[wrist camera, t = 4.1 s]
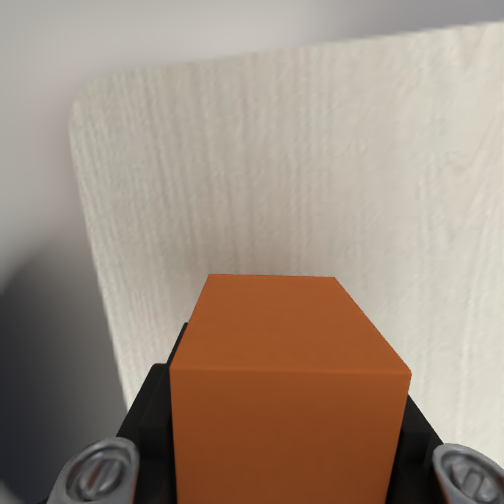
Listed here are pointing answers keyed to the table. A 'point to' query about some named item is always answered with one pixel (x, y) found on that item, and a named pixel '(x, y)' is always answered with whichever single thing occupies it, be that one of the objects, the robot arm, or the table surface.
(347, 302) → the orange block
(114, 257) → the table surface
